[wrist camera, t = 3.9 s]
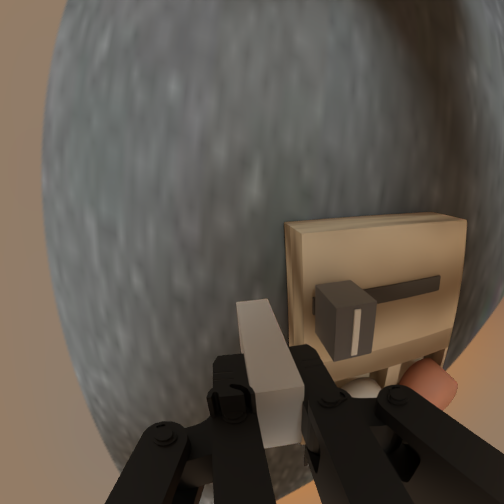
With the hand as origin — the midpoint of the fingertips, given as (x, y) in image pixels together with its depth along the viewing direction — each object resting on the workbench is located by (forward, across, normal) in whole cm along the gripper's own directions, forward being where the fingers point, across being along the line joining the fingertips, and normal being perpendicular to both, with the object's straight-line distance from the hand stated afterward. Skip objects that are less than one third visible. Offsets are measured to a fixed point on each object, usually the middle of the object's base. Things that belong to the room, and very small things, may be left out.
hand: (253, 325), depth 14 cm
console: (+5, +9, -4) cm, 11 cm away
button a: (+2, +12, -8) cm, 15 cm away
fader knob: (+1, +4, 0) cm, 4 cm away
